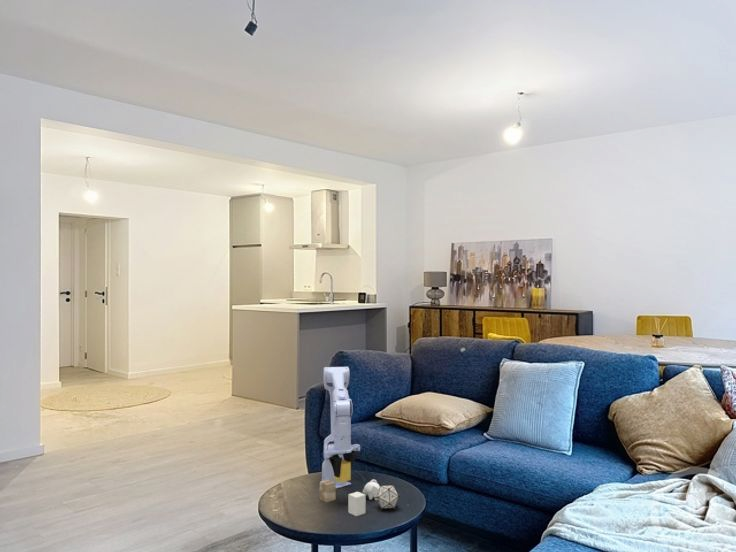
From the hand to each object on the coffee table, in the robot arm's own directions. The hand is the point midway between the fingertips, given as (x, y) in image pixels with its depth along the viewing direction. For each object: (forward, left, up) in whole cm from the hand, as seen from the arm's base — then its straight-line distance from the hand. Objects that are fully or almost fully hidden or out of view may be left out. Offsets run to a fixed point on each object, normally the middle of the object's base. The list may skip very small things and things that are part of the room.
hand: (342, 475), depth 194 cm
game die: (+13, +9, -10) cm, 19 cm away
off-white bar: (+9, -1, -10) cm, 13 cm away
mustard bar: (0, 0, -2) cm, 2 cm away
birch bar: (-7, -1, -10) cm, 12 cm away
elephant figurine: (+3, +11, -10) cm, 16 cm away
